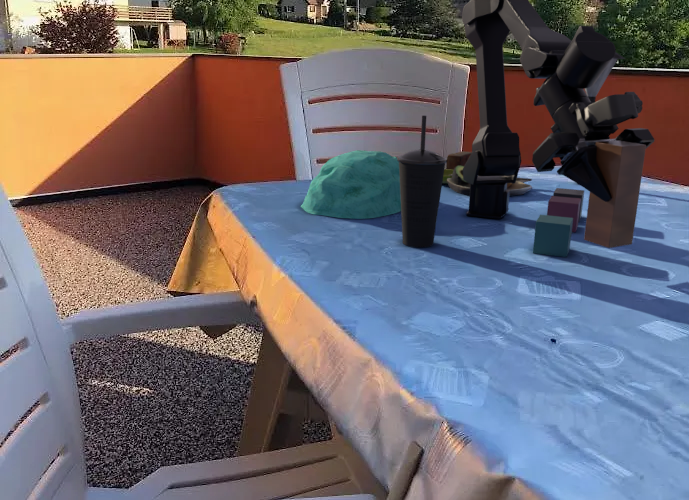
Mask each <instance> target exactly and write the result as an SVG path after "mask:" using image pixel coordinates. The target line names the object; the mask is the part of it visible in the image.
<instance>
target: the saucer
mask: <svg viewBox="0 0 689 500" xmlns="http://www.w3.org/2000/svg"><path fill="white" fill-rule="evenodd" d="M451 174H453V170H449V169H446V168H444V175H443V181H442V184H447V185H448V183H447V178H452V176H449V175H451Z"/></svg>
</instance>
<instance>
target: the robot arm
mask: <svg viewBox="0 0 689 500" xmlns="http://www.w3.org/2000/svg"><path fill="white" fill-rule="evenodd" d="M461 19H462V24H463V26H464V32H465V34H464V35H465V38H466V39H467V40H468V42H469V43H470V45H471V46H472V48H473V49H474V50H475V63H476V65H475V66H476V79H477V97H478V98H477V99H478V114H479V117H478V118H479V131H478V132H477V133H476V136H475V138H474V140H473V141H472V144H471V152H472V153H471V155H470V157H469V159H468V161H467V162H466V164H465V166H464V168H463V180H464V181H466V182H468V183H471V184H470V196H469V199H468V210H467V211H466V212H465V215H466V216H467V217H476V218H478V217H479V218H487V219H495V220H501V219H503V218H504V216H505V215H506V214H507V213H508V212H509V204H510V196H509V194H510V191H509V190H507V183H515V182H516V179H517V178H518V175H519V171H520V168H521V164H522V153H521V149H520V135H519V133H518V132H513V131H512V129H511V128H510V126H509V125H508V114H507V113H508V112H507V97H506V79H505V77H506V76H505V62H504V44H505V41H506V40H507V38H508V36H509V34H510V33H511V35H512V36H513V37H514V39H515V40H516V43H518V45H519V47H520V49H521V51H522V52H521V53H520V55H519V56H520V57H519V62H520V64H521V66H522V69H523V71H524V74H525V75H526V77H527V78H529V79H531V80H532V79H538V80H539V79H540V80H542V79H544V81H543V82H542V84H541V86H539V87H536V89H535V96H534V97H533V102H532V103H533V106H534V107H538V106H545V107H546V110H547V111H548V113H549V115H550V117H551V118H552V120H553V122H554V123H553V125H552V126H551V127H550V130H551V132H550V133H549V135H547V137H546V138H545V139H544V140H543V141H542V142H541V143H540V144H539V145H538V146H537V148H536V149H535V150H534V151H533V152H532V160H531V162H532V164H533V166H534V168H535V170H536V172H537V173H544V172H545V173H546V172H552V171H553V170H554V169H555V168H556V162H555V160H554V159H556V158H559V160H560V164H561V166H560V167H559V168H558V169H557V171H556V173H557V175H559V176H561V175H562V176H564V177H565V178H567V179H569V180H570V181H572V182H574V183H576V184H577V185H579V186H581V187H582V188H584V189H585V190H587V191H588V192H589V193H590V192H591V193H593V194H594V195H596V196H597V197H599V198H600V199H602V200H603V201H605V202H608V201H609V200H610V199H611V198H612V196H611V193H610V190H609V188H608V186H607V184H606V181H605V179H604V177H603V175H602V173H601V171H600V169H599V167H598V165H597V162H596V154H597V146H595V145H596V142H604V141H625V142H631V143H637V144H644V145H646V149H648V148H649V147H650V146H651V145H652V144H653V143H654V142H655V138H654V136H653V134H652V132H651V131H650V130H649V128H643V127H638V128H637V127H636V128H624V129H623V130H621V132H620V133H619V134H617V136H616V137H615V138H611V137H610V136H611V135H614V134H615V133H616V132H617V131H618V130H619V126H618V125H619V124H622V123H625V122H626V121H629V120H635V119H637V118H638V117H639V114H640V113H642V111H643V104H644V102H643V100H642V99H641V98H640V97H639V96H638V95H639V94H637V93H636V92H635V91H625V92H624V93H620V94H619V93H618V94H617V93H615V94H611V95H608V96H605V97H603V98H600V99H598V100H597V101H595V102H591V101H590V100H589V98H588V96H587V94H586V91H585V89H586V88H589V87H591V86H593V85H594V83H595V82H596V81H597V79H598V78H599V77H600V75H601V74H602V72H603V71H604V70H605V68H606V67H607V66H608V64H609V63H610V61H611V60H612V59H613V57H614V55H615V52H616V51H617V50H616V46H615V43H614V42H613V41H611V40H610V39H609V38H608V37H607V36H605V35H603V34H602V33H600V32H597V31H596V30H595V27H594V26H593V25H592V26H591V25H580V26H579V27H578V29H577V30H576V32H575V34H574V36H573V38H572V40H571V39H570V38H569V37H568V36H566V35H565V34H563V33H560V32H558V31H555V30H553V29H551V28H549V26H548V25H547V24H546V23H545V21H544V20H543V18H542V17H541V16H540V14H539V13H538V11H537V10H536V9H535V7H534V6H533V5H532V4H531V2H530V1H529V0H469V1H468V2H467V3H466V4H465V5H464V6H463V8H462V13H461ZM616 53H617V52H616Z"/></svg>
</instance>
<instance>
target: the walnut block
mask: <svg viewBox="0 0 689 500" xmlns="http://www.w3.org/2000/svg"><path fill="white" fill-rule="evenodd" d="M595 146H597V154H596V162H597V165H598V167H599V169H600V171H601V173H602V175H603V177H604V179H605V181H606V184H607V186H608V188H609V190H610V193H611V196H612V198H611V199H610V200H609V201H608V202H605V201H603V200H602V199H600V198H599V197H597V196H596V195H594V194H593V193H591V192H590V191H589V196H588V202H587V203H588V204H587V205H588V206H587V212H586V220H585V229H584V236H583V241H585V242H586V241H587V242H590V243H592V244H595V245H598V246H601V247H604V248H607V249H611V248H612V249H613V248H619V247H624V246H630V245H633V241H634V232H635V227H636V220H637V212H638V204H639V199H640V191H641V184H642V177H643V170H644V163H645V157H646V156H645V155H646V150H647V148H646V145H644V144H637V143H631V142H625V141H604V142H596V145H595Z"/></svg>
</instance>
